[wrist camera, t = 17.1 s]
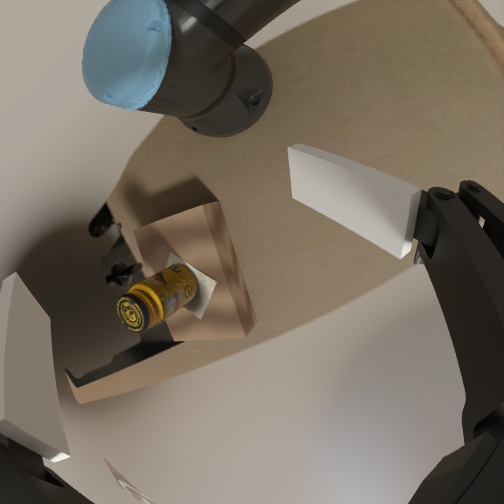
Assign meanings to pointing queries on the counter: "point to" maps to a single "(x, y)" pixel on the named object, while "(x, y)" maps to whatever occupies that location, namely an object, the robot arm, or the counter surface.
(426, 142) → the counter surface
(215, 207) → the stand
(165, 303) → the condiment
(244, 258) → the counter surface
